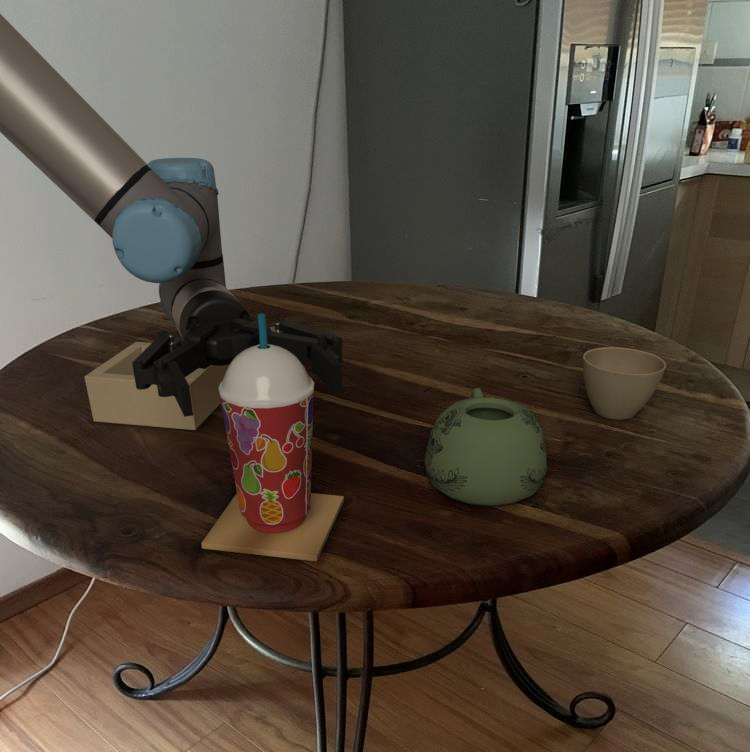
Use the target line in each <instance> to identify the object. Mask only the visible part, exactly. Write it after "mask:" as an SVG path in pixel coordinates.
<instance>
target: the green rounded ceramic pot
mask: <svg viewBox="0 0 750 752" xmlns="http://www.w3.org/2000/svg"><path fill="white" fill-rule="evenodd" d="M426 446H427V447H426V451H425V454H424V458H423V463H424V467H425V473H426V477H427V478H428V480H429V482H430V484H431V485H432V486H433V487H434V488H435V489H436V490H437V491H439V492H441V493H442V494H444V495H445V496H447V497H448V498H450V499H452V500H454V501H457V502H461V503H463V504H467V505H470V506H479V507H490V508H493V507H501V506H507V505H508V506H509V505H512V504H514V503H517V502H520V501H523V500H525V499H527V498H529V497H531V496H534V494H536V492H537V491H538V490H539V488H540V487H541V486H542V485H543V482H544V479H545V477H546V474H547V470H548V463H547V449H546V446H547V445H546V438H545V435H544V432H543V429H542V426H541V423H540V422H539V420H538V419H537V417H536V416H535V415H534V414H533V413H532V412H531V411H529V409H528V408H527V407H526V406H524V405H521V404H520V403H517V402H515V401H513V400H508V399H504V398H500V397H499V398H498V397H487V396H486V397H484V393H483V391H482V389H481V388H480V387H476V388H473V389H472V390H471V394H470V396H469V397H468V398H464V399H461V400H458V401H455V402H454V403H453V404H451V405H450V406H449V407H447V408H446V409H445V410H443V411H442V412H441V413H440V414H439V416H438V418H437V419H436V421H435V422H434V425H433V426H432V429H431V430H430V434H429V438H428V443H427V445H426Z"/></svg>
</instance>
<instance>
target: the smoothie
mask: <svg viewBox="0 0 750 752" xmlns="http://www.w3.org/2000/svg"><path fill="white" fill-rule="evenodd" d="M257 320H258V322H257V323H258V324H259V337H260V345H255V346H252V347H250V348H247V349H245V350H244V351H242V352H241V353H239V354H238V355H237V356H236V357H235V358H234V359H233V360H232V362H231V363H230V365H229V367H228V369H227V371H226V373H225V376H224V379H223V381H222V382H221V383H220V386H219V388H218V390H219V394H220V398H221V404H220V405H221V409H222V415H223V422H224V427H225V433H226V439H227V444H228V451H229V455H230V461H231V462H230V463H231V468H232V473H233V479H234V485H235V490H236V494H237V496H238V502H239V508H240V511H241V514H242V515H243V516H244V517H245V518H246V519H247V522H248V524H249V525H250V526H251V527H252V528H253V529H256V530H259V531H262V532H268V533H279V532H285V531H289V530H292V529H294V528H296V527H298V526H299V525H301V524H302V523H303V521H304V520H305V517H306V514H307V513H308V511H309V510H310V508H311V493H312V472H313V471H312V469H313V468H312V467H313V430H314V428H313V427H314V422H313V421H314V391H315V381H314V380H313V379H312V377H311V376H310V375H309V374H308V371H307V370H306V367H305V366H304V364H302V363H301V362H300V361H299V359H298V358H297V357H296V356H295V355H294V354H293V353H291V352H289V351H288V350H286V349H284V348H282V347H279V346H275V345H271V344H267V331H266V326H267V319H266V313H258V314H257Z"/></svg>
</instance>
